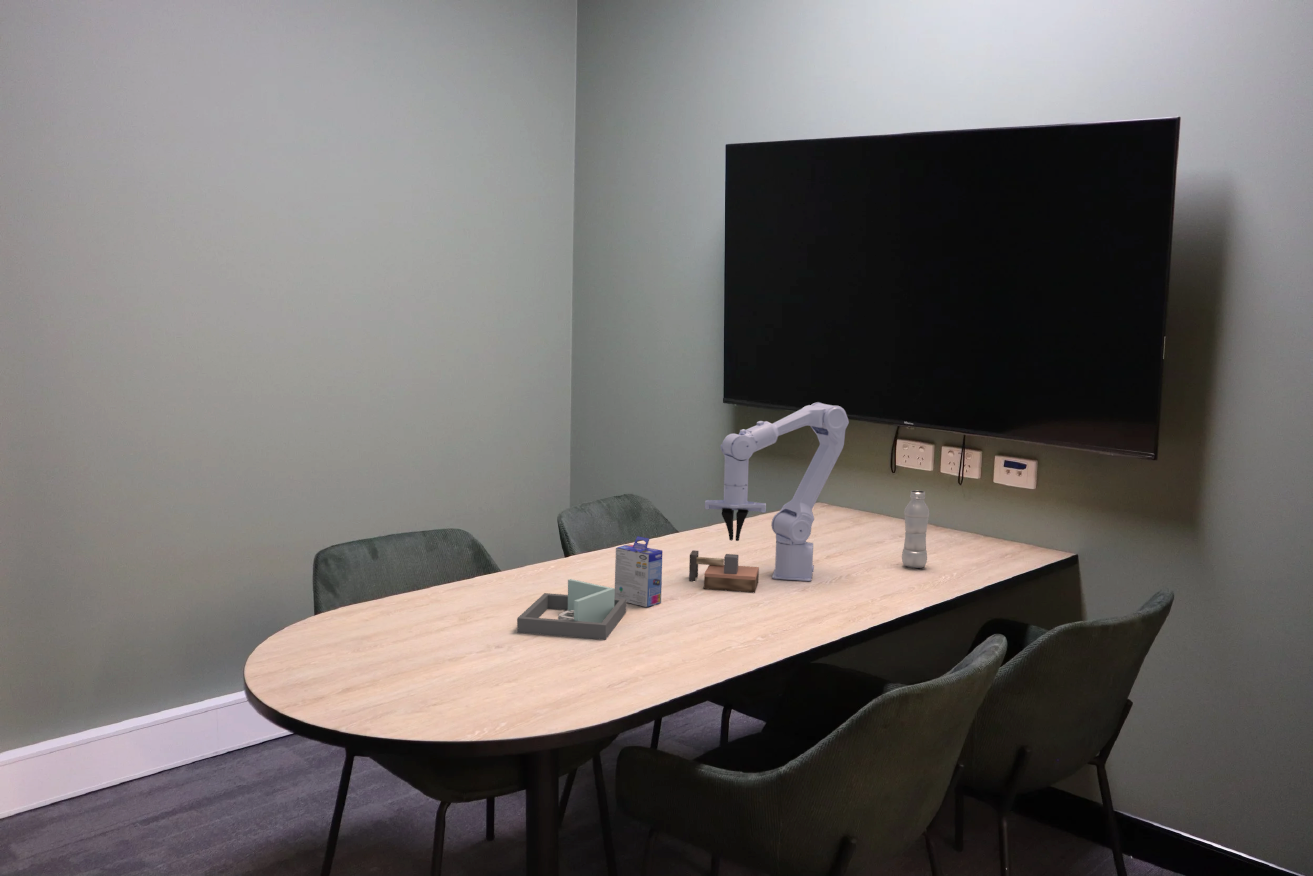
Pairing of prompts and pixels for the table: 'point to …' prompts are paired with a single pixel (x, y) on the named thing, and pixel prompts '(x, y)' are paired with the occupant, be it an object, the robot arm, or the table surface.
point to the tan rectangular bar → (709, 561)
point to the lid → (732, 569)
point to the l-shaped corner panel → (588, 602)
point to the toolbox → (721, 579)
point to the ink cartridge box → (638, 573)
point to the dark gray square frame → (567, 628)
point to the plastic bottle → (915, 531)
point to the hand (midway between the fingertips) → (734, 539)
